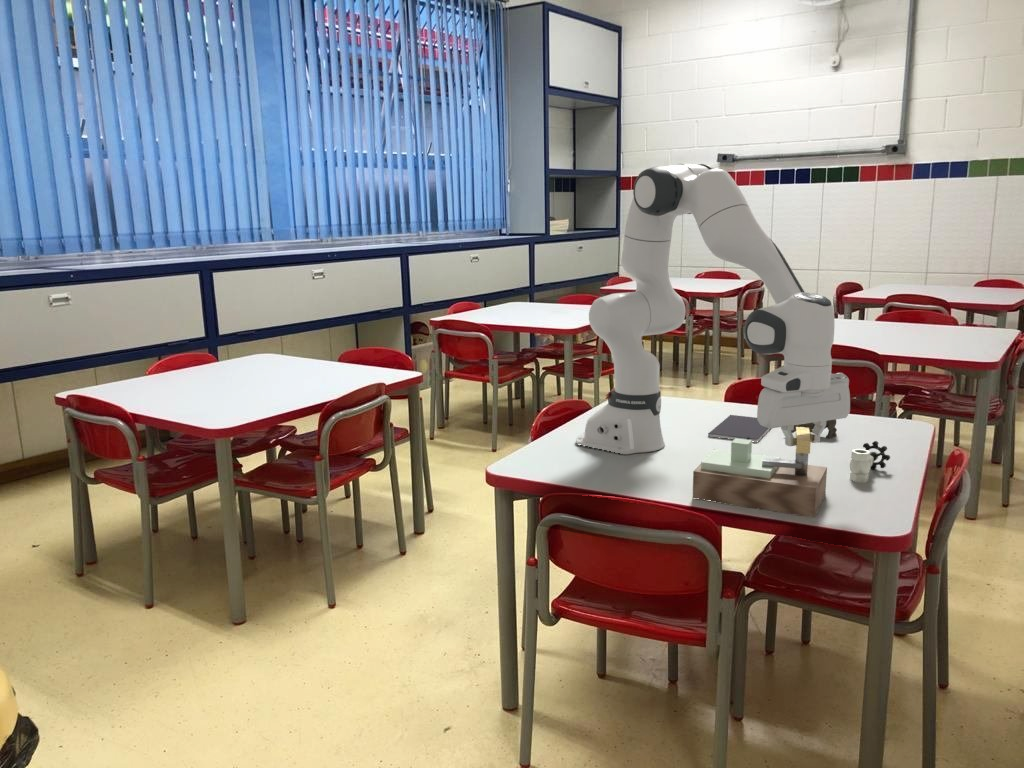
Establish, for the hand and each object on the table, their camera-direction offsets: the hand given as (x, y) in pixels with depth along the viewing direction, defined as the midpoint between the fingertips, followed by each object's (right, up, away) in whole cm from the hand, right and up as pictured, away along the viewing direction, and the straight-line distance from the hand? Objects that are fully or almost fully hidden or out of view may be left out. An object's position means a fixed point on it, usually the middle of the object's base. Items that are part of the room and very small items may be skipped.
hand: (802, 443), depth 162 cm
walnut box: (-7, -11, +6) cm, 15 cm away
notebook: (+4, -1, +55) cm, 55 cm away
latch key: (-3, -6, +2) cm, 7 cm away
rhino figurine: (+19, -2, +48) cm, 52 cm away
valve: (+20, -9, +18) cm, 28 cm away
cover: (-11, -5, +6) cm, 13 cm away
